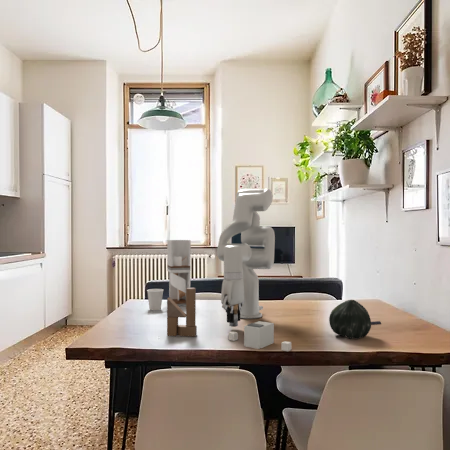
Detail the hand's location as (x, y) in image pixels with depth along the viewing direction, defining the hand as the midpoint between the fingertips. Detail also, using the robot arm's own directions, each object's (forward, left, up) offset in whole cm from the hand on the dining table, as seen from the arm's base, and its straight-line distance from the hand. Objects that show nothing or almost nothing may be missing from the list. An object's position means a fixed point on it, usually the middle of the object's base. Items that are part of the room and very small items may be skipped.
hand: (233, 321), depth 168 cm
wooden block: (+20, -10, -4) cm, 22 cm away
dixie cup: (-11, -58, -4) cm, 59 cm away
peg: (0, 0, -2) cm, 2 cm away
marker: (+13, +31, -3) cm, 34 cm away
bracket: (-46, +33, -4) cm, 57 cm away
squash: (-18, +41, -4) cm, 45 cm away
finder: (+13, +20, -4) cm, 24 cm away
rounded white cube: (+13, +9, -3) cm, 16 cm away
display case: (-30, -60, -4) cm, 67 cm away
